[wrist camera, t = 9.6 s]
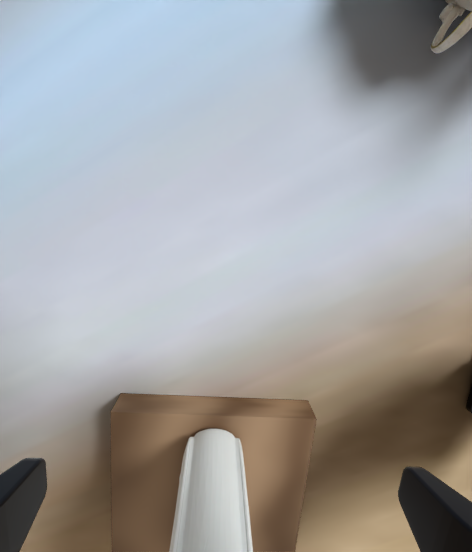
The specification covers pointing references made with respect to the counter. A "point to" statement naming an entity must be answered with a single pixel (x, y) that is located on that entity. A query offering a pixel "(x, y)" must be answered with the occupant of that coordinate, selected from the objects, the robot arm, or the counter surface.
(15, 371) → the counter surface
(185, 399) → the walnut stand
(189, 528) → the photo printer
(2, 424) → the counter surface
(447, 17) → the chinaware
